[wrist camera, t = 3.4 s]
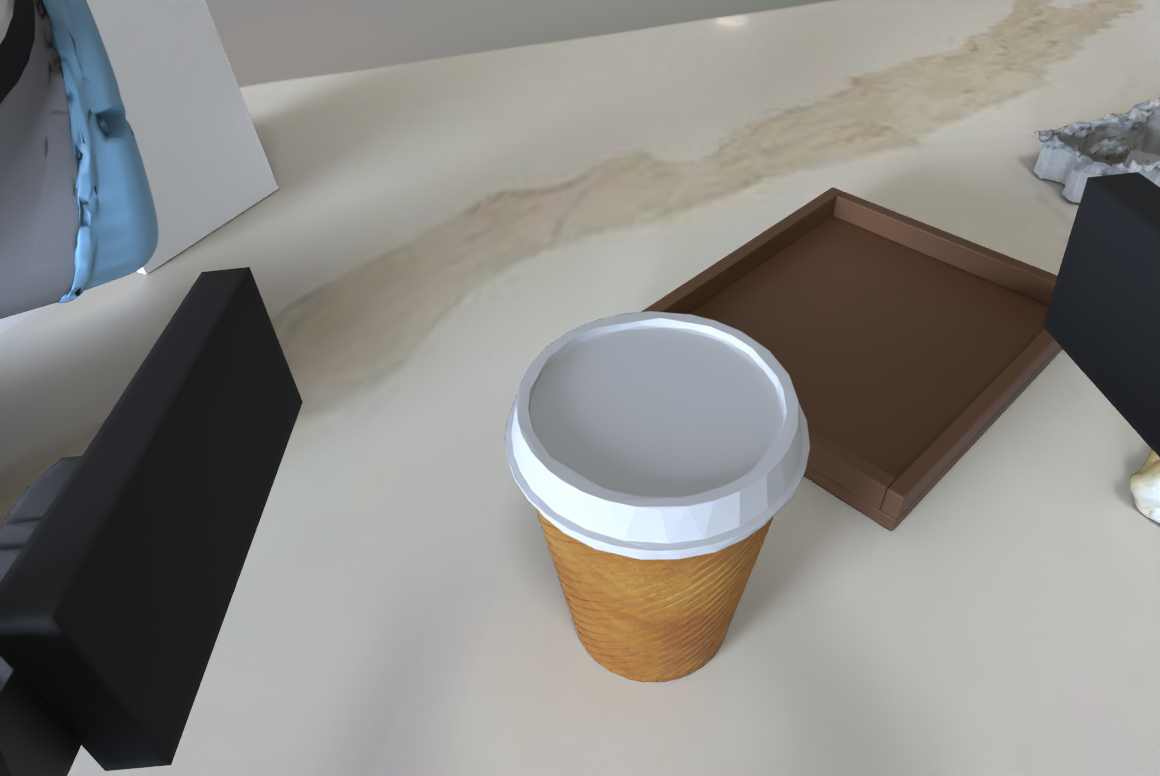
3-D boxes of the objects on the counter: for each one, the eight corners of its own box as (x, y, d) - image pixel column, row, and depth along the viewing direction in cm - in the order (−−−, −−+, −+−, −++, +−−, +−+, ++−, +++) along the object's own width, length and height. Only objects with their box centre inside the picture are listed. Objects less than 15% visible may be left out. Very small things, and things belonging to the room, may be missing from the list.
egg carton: (1158, 148, 59) (1184, 93, 56) (1230, 201, 53) (1263, 142, 50) (1015, 161, 58) (1035, 105, 55) (1073, 215, 53) (1098, 157, 50)
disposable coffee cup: (786, 545, 35) (832, 328, 27) (745, 760, 29) (790, 560, 20) (577, 496, 38) (561, 283, 29) (496, 682, 31) (447, 477, 23)
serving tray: (618, 358, 44) (618, 326, 43) (826, 217, 54) (832, 186, 52) (891, 532, 35) (903, 498, 34) (1084, 325, 45) (1101, 292, 43)
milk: (171, 158, 64) (-5, -260, 47) (278, 188, 60) (129, -260, 42) (35, 234, 57) (-237, -230, 39) (146, 274, 53) (-103, -227, 35)
